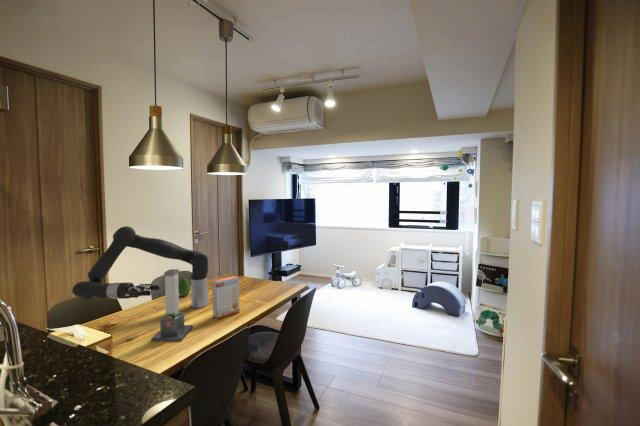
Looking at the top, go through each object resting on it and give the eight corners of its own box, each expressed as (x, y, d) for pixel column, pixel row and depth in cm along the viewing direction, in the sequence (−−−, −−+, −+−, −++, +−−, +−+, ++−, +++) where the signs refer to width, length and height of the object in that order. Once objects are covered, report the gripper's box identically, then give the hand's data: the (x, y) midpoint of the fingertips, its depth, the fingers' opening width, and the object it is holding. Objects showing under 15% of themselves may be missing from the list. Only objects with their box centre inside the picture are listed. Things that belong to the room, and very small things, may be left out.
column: (170, 316, 152) (169, 269, 151) (179, 316, 152) (178, 269, 151) (165, 322, 146) (163, 272, 144) (174, 321, 146) (173, 272, 144)
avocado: (192, 294, 211) (192, 277, 210) (187, 297, 203) (187, 280, 202) (180, 294, 210) (180, 277, 210) (175, 297, 202) (175, 280, 202)
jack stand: (164, 328, 156) (164, 308, 155) (192, 327, 157) (192, 307, 156) (151, 341, 142) (150, 319, 141) (181, 340, 143) (181, 318, 142)
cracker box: (234, 309, 182) (234, 275, 181) (239, 312, 178) (239, 277, 177) (212, 316, 172) (211, 279, 171) (217, 319, 168) (216, 281, 167)
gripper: (111, 287, 139) (147, 287, 140) (128, 278, 154) (161, 278, 154) (111, 303, 140) (147, 303, 141) (129, 293, 154) (161, 293, 155)
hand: (155, 290), depth 148 cm, fingers open, 8 cm apart
